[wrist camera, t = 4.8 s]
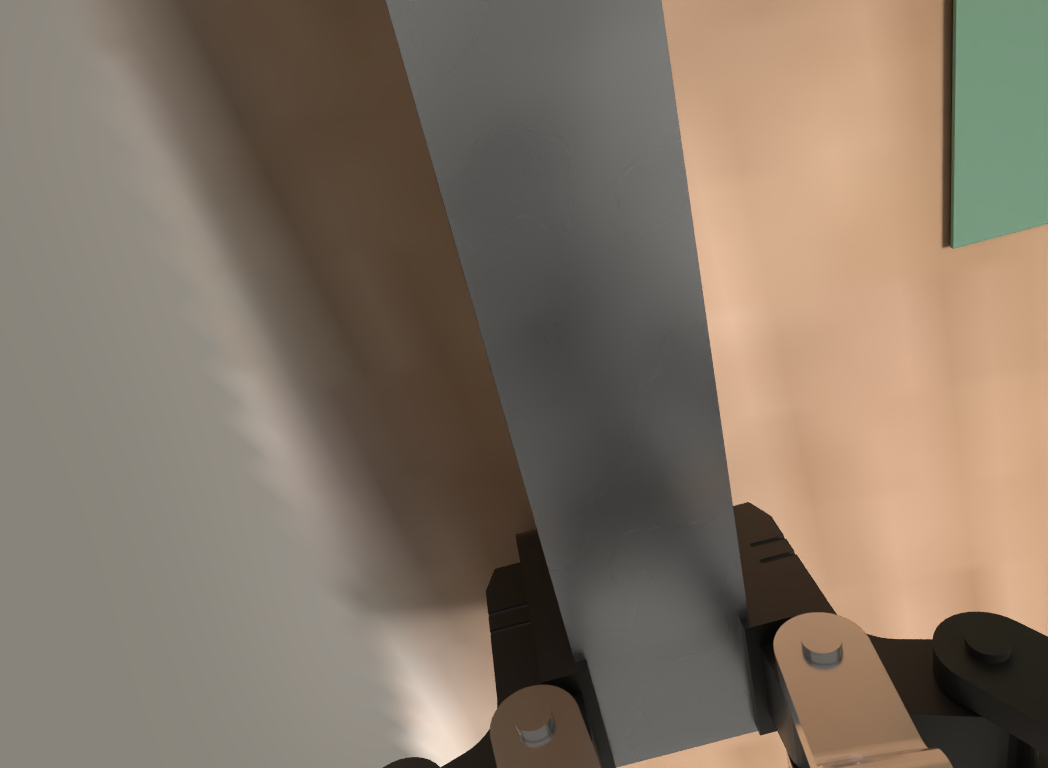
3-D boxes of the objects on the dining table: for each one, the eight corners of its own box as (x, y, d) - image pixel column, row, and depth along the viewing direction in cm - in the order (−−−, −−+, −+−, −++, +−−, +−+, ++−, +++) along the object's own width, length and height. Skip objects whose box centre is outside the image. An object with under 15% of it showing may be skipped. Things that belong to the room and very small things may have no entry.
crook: (237, -582, 8) (94, -1016, 5) (936, -775, 8) (1327, -1360, 5) (565, 593, 16) (605, 770, 12) (933, 497, 16) (1082, 646, 12)
